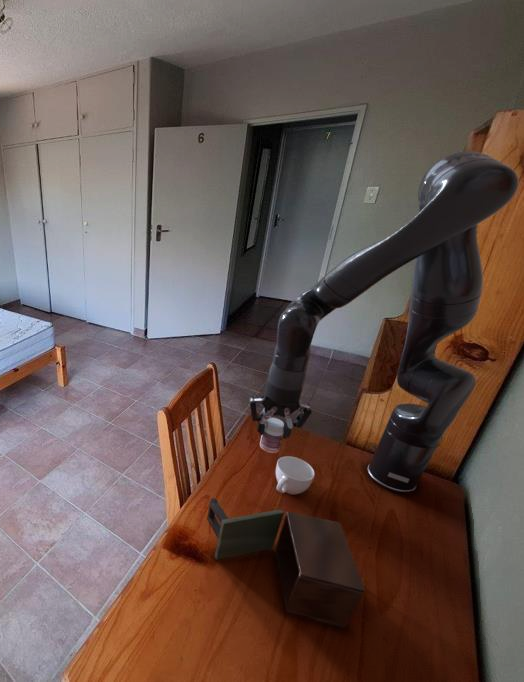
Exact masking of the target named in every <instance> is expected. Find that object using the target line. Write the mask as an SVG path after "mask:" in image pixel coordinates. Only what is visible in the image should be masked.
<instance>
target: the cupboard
mask: <svg viewBox="0 0 524 682" xmlns="http://www.w3.org/2000/svg"><path fill="white" fill-rule="evenodd" d="M280 527H281V528H280V530H279V533H278V537H277V540H276V542H275V546H274V552H275V557H276V562H277V568H278V574H279V580H280V585H281V590H282V596H283V601H284V607H285V613H288V614H291V615H294V616H298V617H302V618H305V619H309V620H312V621H314V622H317V623H322V624H325V625H329V626H332V627H336V628H340V629H343V630H345V629H346V627H347V625H348V623H349V622H350V619H351V618H352V616H353V614H354V612H355V611H356V609H357V607H358V605H359V603H360V601H361V599H362V597H363V596H364V594H365V592H366V589H365V587H364V583H363V581H362V578H361V576H360V573H359V569H358V568H357V564H356V561H355V559H354V557H353V553H352V551H351V548H350V546H349V543H348V539H347V538H346V534H345V532H344V529H343V527H342V524H341V522H338V521H334V520H329V519H324V518H320V517H315V516H311V515H307V514H300V513H297V512H291V511H286V513H285V515H284V518H283V521H282V525H281V526H280Z"/></svg>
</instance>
